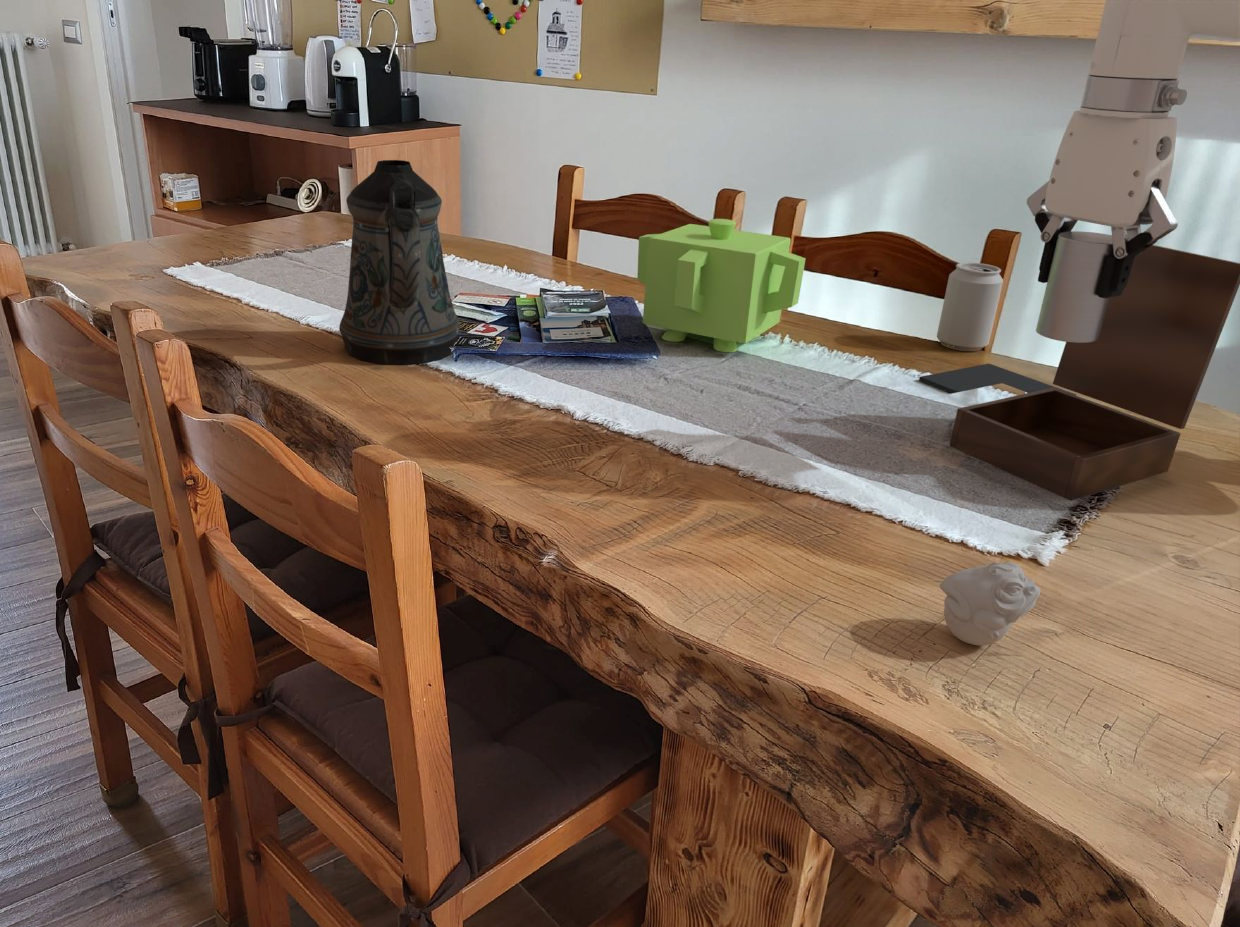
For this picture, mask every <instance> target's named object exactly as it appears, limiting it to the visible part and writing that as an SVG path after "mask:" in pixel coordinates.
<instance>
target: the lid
mask: <svg viewBox="0 0 1240 927" xmlns="http://www.w3.org/2000/svg"><path fill="white" fill-rule="evenodd" d="M1239 288H1240V262H1237V261H1233V260H1228V259H1222V258H1218V257H1213V256H1208V255H1204V254H1199V253H1195V252H1190V251H1185V250H1180V249H1175V248H1171V247H1167V246H1166V247H1165V246H1160V245H1156V244H1153V245H1151V246H1150V247H1148V248H1147V249H1145V250H1144V251H1142V253H1141V254H1140V255H1139V256H1135V257H1134V261H1133V264H1132V268H1131V271H1130V275H1129V279H1128V282H1127V285H1126V287H1125V289H1124V290H1123V292H1122V294H1121V295H1120V296H1115V297H1110V298H1109V302H1108V306H1107V310H1106V313H1105V317H1104V321H1103V324H1102V328H1101V332H1100V336H1099V339H1098V340H1097V341H1095V342H1090V343H1072V342H1065V345H1064V347H1063V350H1062V354H1061V357H1060V359H1059V363H1058V366H1057V369H1056V372H1055V376H1054V378H1053V381H1052V385H1053V386H1057V387H1060V388H1061V389H1064V390H1067V391H1071V392H1074V393H1077V394H1079V395H1082V396H1086V397H1089V398H1090V399H1094V400H1097V401H1099V402H1102V403H1105V404H1107V405H1111V406H1113V407H1116V408H1120V409H1122V410H1125V411H1127V412H1130V413H1133V414H1136V415H1139V416H1142V417H1144V418H1147V419H1150V420H1153V421H1156V422H1158V423H1161V424H1165V425H1168V426H1170V427H1173V428H1176V429H1178V430H1183V429H1185V428H1186V425H1187V423H1188V420H1189V417H1190V415H1191V412H1192V410H1193V407H1194V404H1195V402H1196V399H1197V397H1198V394H1199V392H1200V389H1201V387H1202V384H1203V381H1204V379H1205V376H1206V373H1207V371H1208V368H1209V366H1210V363H1211V361H1212V358H1213V355H1214V352H1215V350H1216V347H1217V345H1218V342H1219V340H1220V337H1221V335H1222V332H1223V329H1224V327H1225V324H1226V321H1227V319H1228V317H1229V314H1230V312H1231V308H1232V306H1233V303H1234V301H1235V299H1236V295H1237V293H1238V290H1239Z"/></svg>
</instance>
